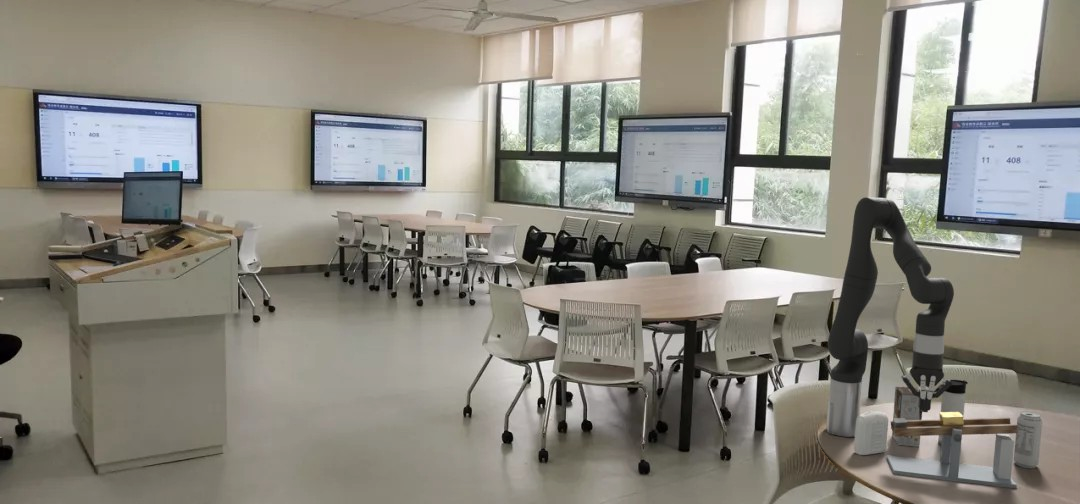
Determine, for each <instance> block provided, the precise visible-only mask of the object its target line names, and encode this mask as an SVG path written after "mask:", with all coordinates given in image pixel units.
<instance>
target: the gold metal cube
mask: <svg viewBox="0 0 1080 504" xmlns="http://www.w3.org/2000/svg"><path fill="white" fill-rule="evenodd" d="M938 413H939V419H940V425H941V426H964V420H963V419H964V417H963V416H962V415H961V413H960V412H941V411H939V412H938Z"/></svg>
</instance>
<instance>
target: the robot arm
mask: <svg viewBox="0 0 1080 504" xmlns="http://www.w3.org/2000/svg"><path fill="white" fill-rule="evenodd" d="M873 229H881V230H882V229H883V230H884V231H885V232H886V233H887V234H889V236H890V237H891V238H892V254H893V258H894V260H895V262H896V264H897V265H898V267H899V268H900V270H901V271H902V273H903V274H904V275H905V278H906V281H907V285H908V289H909V291H910V292H909V293H910V295H911V297H912V298H913V299H914V300H915V301H916V302H917V303H919V304H924V305H929V306H928V308H927V309H926V310H923V311H921V312H918V314H917V316H916V318H915V319H916V320H915V333H914V334H915V335H914V339H913V344H912V347H913V348H912V349H913V351H912V364H911V365H912V366H911V368H910V370H909V373H907V374H905V375H902V376H901V377H900V378H901V380H902V381H903V383H904V384H905V386H906V387H908V388H909V389H910V391H911V392H912V393H913V395H914V396H917V397H919V403H918V407H919V409H920V410H921V412H922V413H928V412H929V411H930V410H931V407H932V406H931V405H932V399H935V398H936V399H938V398H939V397H941V396H942V393H943V392H945V391H946V390H947V389H948V388H949V387H950V386H951V385H952V382H951V381H950V380H951V379H949V378H947V377H946V376H945V373H944V371H943V368H944V356H945V355H944V352H945V323H946V319H947V317H948V314H949V311H950V308H951V306H952V303H953V300H954V297H955V291H954V285H953V284H952V282H951V281H950V280H949V279H948V278H945V277H928V276H929V275H930V273H932V266H931V264H930V262H929V261H928V259H927V257H926V256H925V254H923V252H922V251H921V250H920V247H918V245H917V243H916V242H915V241H914V238H913V236H912V234H911V232H910V230H909V228H908V225H907V223H906V222H905V219H904V218H903V215H902V213H901V211H900V209H899V207H898V205H897V204H896V203H895V201H894V200H892V199H890V198H886V197H873V196H865V197H863V198H861V199H860V200H858V202H857V204H856V207H855V209H854V215H853V221H852V230H851V231H852V232H851V240H850V241H851V242H850V248H849V253H848V259H847V265H846V267H845V271H844V274H843V275H844V276H843V280H842V286H841V287H842V288H841V292H840V297H839V300H838V304H837V309H836V314H835V317H834V320H833V323H832V326H831V329H830V331H829V335H828V339H827V349H828V353H829V354H830V355H831V357H833V358H834V359H835V360H837V361H838V363H836V365H835V366H834V367H832V369H831V371H830V380H829V381H830V383H829V393H828V394H829V398H828V400H827V414H826V415H827V416H826V431H827V434H830V435H835V436H838V437H845V438H853V437H854V438H855V429H856V419H857V417H858V416H859V415H861V414H860V413H861V401H862V400H861V399H862V398H861V397H862V383H863V378H864V377H863V376H864V374H865V373H866V372H865V371H866V368H867V359H868V353H869V343H868V342H869V341H868V339H867V335H866V334H865V332H863V331H862V330H860V329H858V328H857V324H858V322H859V321H858V320H859V318H860V317H861V315H862V313H863V311H864V310H865V308H866V307H867V305H868V304H869V302H870V301H871V299H872V297H873V295H874V293H875V289H876V285H877V280H878V273H879V272H878V267H877V262H876V259H875V257H874V254H873V252H872V245H871V243H872V242H871V241H872V234H873ZM912 379H913V380H914V382H915V383H916V384H917V387H918V388H917V389H918V391H916V390H915V388H916V387H914V386H913V384H912V382H913V380H912ZM939 383H940V384H939ZM938 384H939V385H938ZM937 385H938V386H937ZM935 386H937V387H936V389H935Z"/></svg>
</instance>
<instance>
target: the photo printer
mask: <svg viewBox="0 0 1080 504" xmlns="http://www.w3.org/2000/svg"><path fill="white" fill-rule="evenodd" d="M888 427H889V417H888V415H887V413H885V412H881V411H880V410H879V411H878V410H870V411H865V412H863V413H861V414H860V415H859V416H858V417H857V419H856V429H855V436H854V441H853V442H854V443H853V451H854V453H856V455H859V456H868V455H874V454H880V453H885V452H886V451H887V443H888V441H887V440H888V429H889V428H888Z"/></svg>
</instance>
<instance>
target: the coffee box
mask: <svg viewBox="0 0 1080 504" xmlns="http://www.w3.org/2000/svg"><path fill="white" fill-rule="evenodd" d="M914 388H915V390H916V391H919V389H918V388H916V387H914ZM893 400H894V402H893V415H892V417H893V418H905V420H923V412H921V410H920V409H919V407H918V403H919V397H917V396H914V395H913V393H912V392H911V391H910V389H909V388H908V387H907V386H895V387H894V399H893ZM893 418H892V419H893ZM891 431H892V430H891ZM891 436H892V438H893V440H894V442H895V443H896V444H897V445H898V446H905V447H906V446H907V447H914V448H915V447H916V448H917V447H918V448H919V447H920V445H921V444H920V443H921V436H895V435H894V433H893V431H892V433H891Z"/></svg>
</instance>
